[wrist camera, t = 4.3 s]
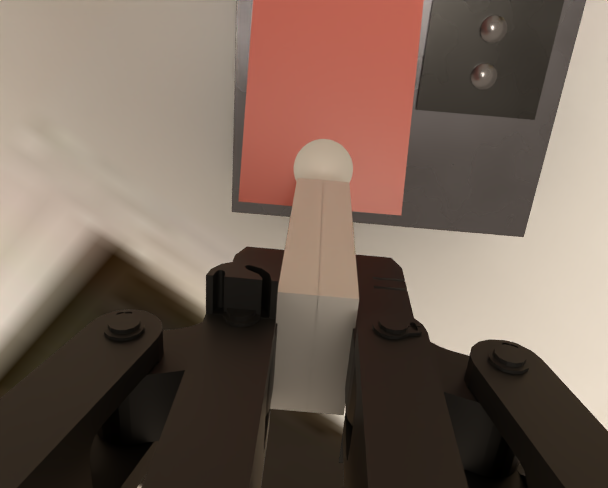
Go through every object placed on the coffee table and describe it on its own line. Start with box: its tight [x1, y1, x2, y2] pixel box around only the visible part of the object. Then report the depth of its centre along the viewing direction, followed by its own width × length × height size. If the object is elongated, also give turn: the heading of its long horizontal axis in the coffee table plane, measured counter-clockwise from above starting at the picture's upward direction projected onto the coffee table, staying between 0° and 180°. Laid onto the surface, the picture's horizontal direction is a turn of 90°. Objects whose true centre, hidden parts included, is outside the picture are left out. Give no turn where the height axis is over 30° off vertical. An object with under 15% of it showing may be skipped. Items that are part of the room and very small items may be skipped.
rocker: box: [239, 0, 424, 215], centre depth 18 cm, size 10×5×2 cm, turn 176°
